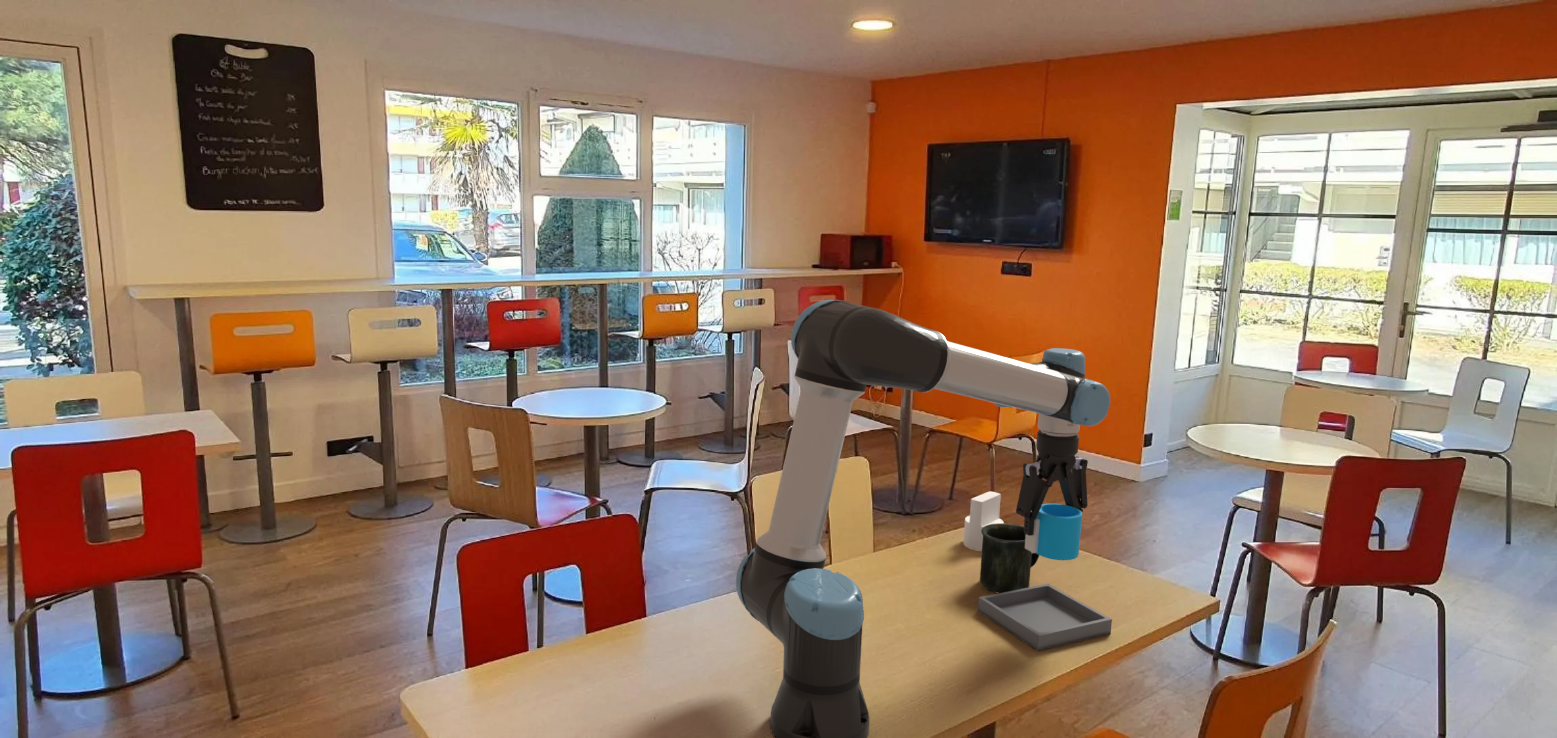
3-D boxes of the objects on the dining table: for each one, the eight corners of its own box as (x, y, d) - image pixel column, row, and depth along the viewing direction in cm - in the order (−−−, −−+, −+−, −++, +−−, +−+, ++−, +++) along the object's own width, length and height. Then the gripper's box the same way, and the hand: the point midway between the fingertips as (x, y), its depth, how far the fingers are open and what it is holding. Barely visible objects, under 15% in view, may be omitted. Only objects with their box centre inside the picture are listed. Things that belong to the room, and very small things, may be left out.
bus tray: (1038, 651, 167) (1039, 635, 166) (977, 611, 183) (978, 597, 182) (1110, 633, 174) (1112, 619, 174) (1046, 597, 190) (1048, 583, 189)
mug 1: (966, 580, 198) (970, 527, 195) (1019, 569, 204) (1023, 518, 202) (1000, 600, 188) (1004, 544, 186) (1054, 588, 195) (1058, 534, 192)
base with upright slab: (989, 554, 212) (993, 505, 210) (956, 544, 218) (959, 496, 216) (1009, 545, 219) (1012, 496, 217) (976, 535, 225) (979, 488, 223)
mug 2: (1087, 557, 172) (1091, 515, 170) (1051, 562, 169) (1054, 520, 167) (1048, 535, 183) (1051, 495, 181) (1013, 539, 180) (1016, 499, 178)
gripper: (1027, 441, 164) (1018, 562, 168) (1115, 431, 173) (1104, 546, 177) (1000, 431, 170) (992, 548, 174) (1086, 422, 179) (1076, 533, 183)
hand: (1048, 547), depth 176 cm, fingers closed on mug 2, 8 cm apart
